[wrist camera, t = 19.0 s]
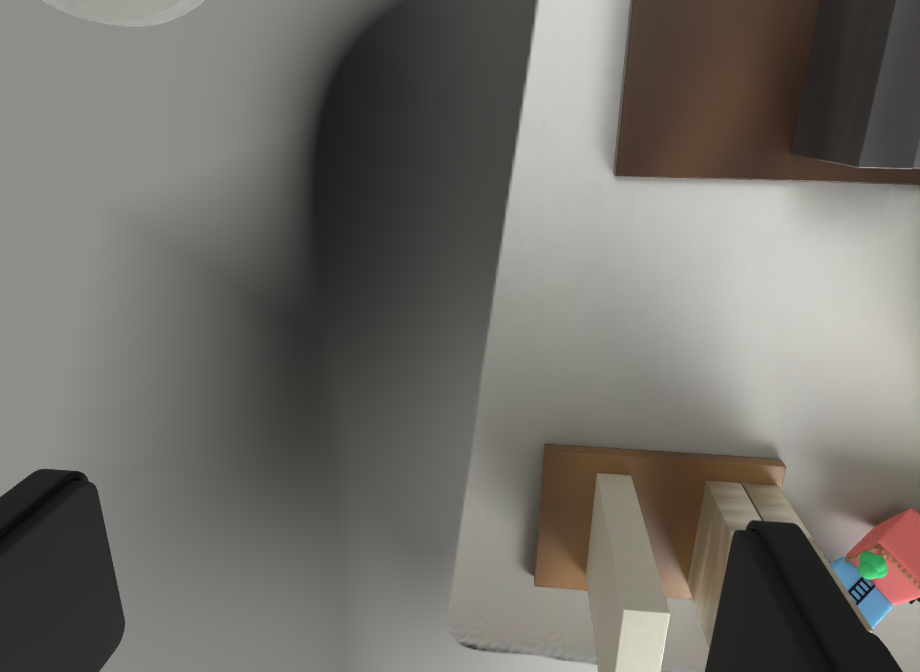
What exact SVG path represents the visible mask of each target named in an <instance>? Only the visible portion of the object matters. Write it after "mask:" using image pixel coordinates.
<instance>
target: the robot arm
mask: <svg viewBox="0 0 920 672" xmlns="http://www.w3.org/2000/svg"><path fill="white" fill-rule="evenodd" d="M124 627H125V619H124V615H123V610H122V605H121V600H120V596H119V591H118V586H117V581H116V576H115V571H114V567H113V562H112V558H111V552H110V548H109V543H108V538H107V534H106V529H105V524H104V519H103V514H102V510H101V505H100V500H99V496H98V491H97V488H96V486H95V485H94V484H93V483H91V482H89V481H88V478H87V477H86V476H85V474H84V473H81V472H79V471H68V470H54V469H40V470H37V471H35V472H33V473H32V474H31V475H29V476H28V477H27V478H25V479H24V480H23V481H21V482H20V483H18V484H17V485H16V486H14V487H13V488H12V489H10V490H9V491H8V492H7V493H5V494H4V495H3V496H1V497H0V672H99V671H100V670H101V668H102V667H103V666H104V664H105V663H106V662H107V660H108V659H109V658H110V656H111V655H112V654H113V652H114V651H115V650H116V648H117V647H118V645H119V644H120V641H121V639H122V636H123V633H124ZM705 672H903V671H902V670H901V668H900V667H899V665H898V664H897V662H896V661H895V659H894V658H893V656H892V655H891V653H890V652H889V650H888V649H887V647H886V646H885V645H884V644H883V643H882V641H881V640H880V639H879V638H878V637H877V636H876V635H874V634H873V633H871V632H869V631H867V630H866V628H865V627H864V625H863V624H862V622H861V621H860V619H859V617H858V616H857V614H856V613H855V611H854V610H853V608H852V607H851V605H850V604H849V602H848V600H847V599H846V597H845V596H844V594H843V593H842V591H841V590H840V588H839V587H838V585H837V583H836V582H835V580H834V579H833V577H832V576H831V574H830V573H829V571H828V569H827V568H826V566H825V565H824V563H823V562H822V560H821V559H820V557H819V556H818V554H817V552H816V551H815V549H814V548H813V546H812V545H811V543H810V542H809V540H808V539H807V537H806V535H805V534H804V532H803V531H802V529H801V528H800V527H799V526H798V525H797V524H795V523H787V522H773V521H760V520H752V521H750V522H749V523H748V525H747V527H746V530H736V531H735V532H734V534H733V537H732V541H731V546H730V551H729V556H728V560H727V565H726V570H725V575H724V580H723V585H722V590H721V595H720V600H719V605H718V610H717V615H716V620H715V625H714V630H713V635H712V640H711V645H710V650H709V655H708V660H707V664H706V669H705Z"/></svg>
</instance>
